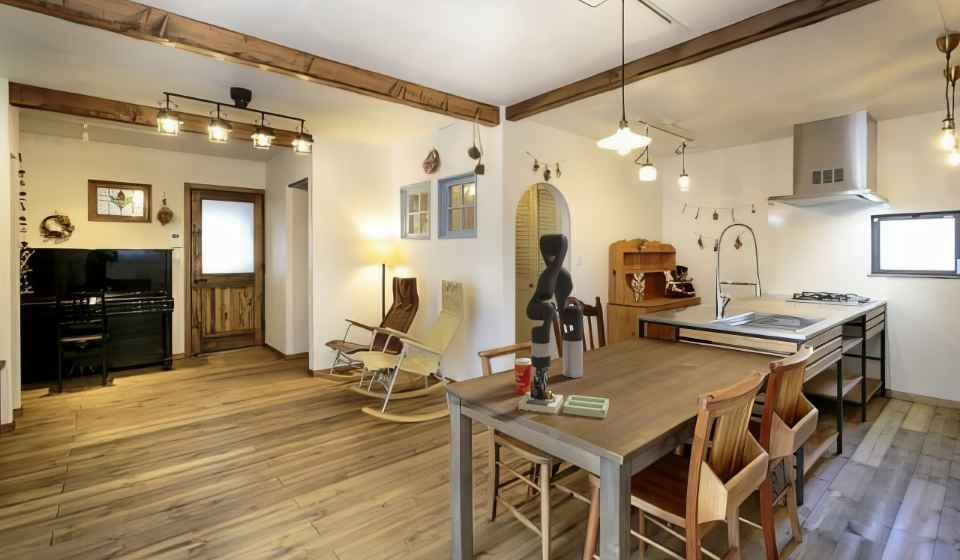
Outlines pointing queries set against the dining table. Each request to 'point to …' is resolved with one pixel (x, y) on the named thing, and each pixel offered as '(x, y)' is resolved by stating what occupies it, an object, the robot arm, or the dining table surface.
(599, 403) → the tray
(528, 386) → the paper cup
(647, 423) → the dining table surface
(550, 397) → the cell
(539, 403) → the white battery holder
